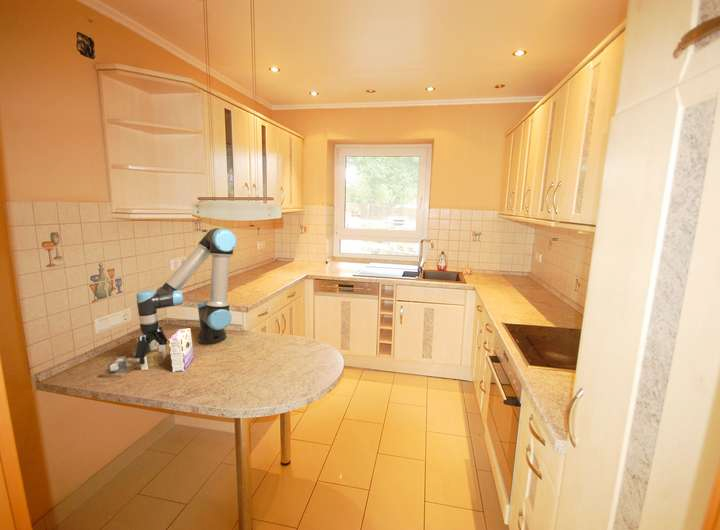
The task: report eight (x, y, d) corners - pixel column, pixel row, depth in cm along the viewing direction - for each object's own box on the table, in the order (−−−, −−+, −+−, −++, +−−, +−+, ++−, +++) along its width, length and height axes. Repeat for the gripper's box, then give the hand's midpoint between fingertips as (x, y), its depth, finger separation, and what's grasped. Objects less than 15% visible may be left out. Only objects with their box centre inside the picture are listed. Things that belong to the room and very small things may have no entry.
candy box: (182, 359, 171) (178, 328, 168) (194, 358, 172) (191, 327, 169) (171, 372, 157) (167, 339, 154) (185, 371, 158) (181, 337, 155)
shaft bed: (138, 353, 180) (136, 342, 179) (158, 353, 180) (156, 342, 179) (98, 377, 155) (96, 364, 154) (121, 377, 154) (119, 364, 153)
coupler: (164, 361, 170) (162, 351, 169) (157, 365, 165) (156, 356, 164) (152, 361, 170) (151, 351, 169) (145, 365, 165) (144, 356, 164)
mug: (155, 351, 182) (152, 333, 180) (132, 351, 182) (129, 334, 180) (164, 345, 190) (161, 328, 188) (142, 345, 190) (139, 328, 189)
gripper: (158, 314, 176) (163, 352, 180) (122, 331, 152) (128, 375, 155) (172, 314, 176) (176, 352, 179) (138, 331, 151) (144, 375, 155)
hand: (154, 363), depth 167 cm, fingers open, 13 cm apart
